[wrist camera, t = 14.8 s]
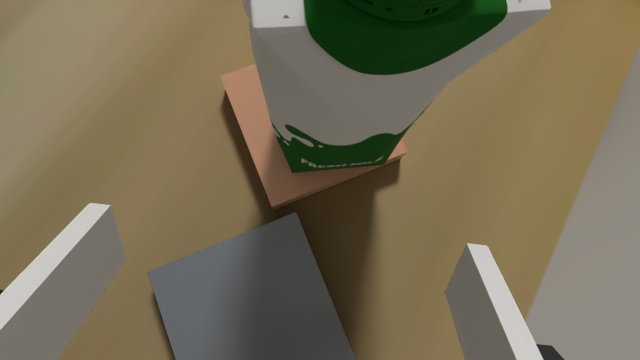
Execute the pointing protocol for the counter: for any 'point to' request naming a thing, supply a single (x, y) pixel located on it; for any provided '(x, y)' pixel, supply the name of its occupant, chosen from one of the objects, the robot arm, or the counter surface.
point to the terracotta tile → (267, 150)
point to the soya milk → (367, 67)
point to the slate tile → (251, 300)
